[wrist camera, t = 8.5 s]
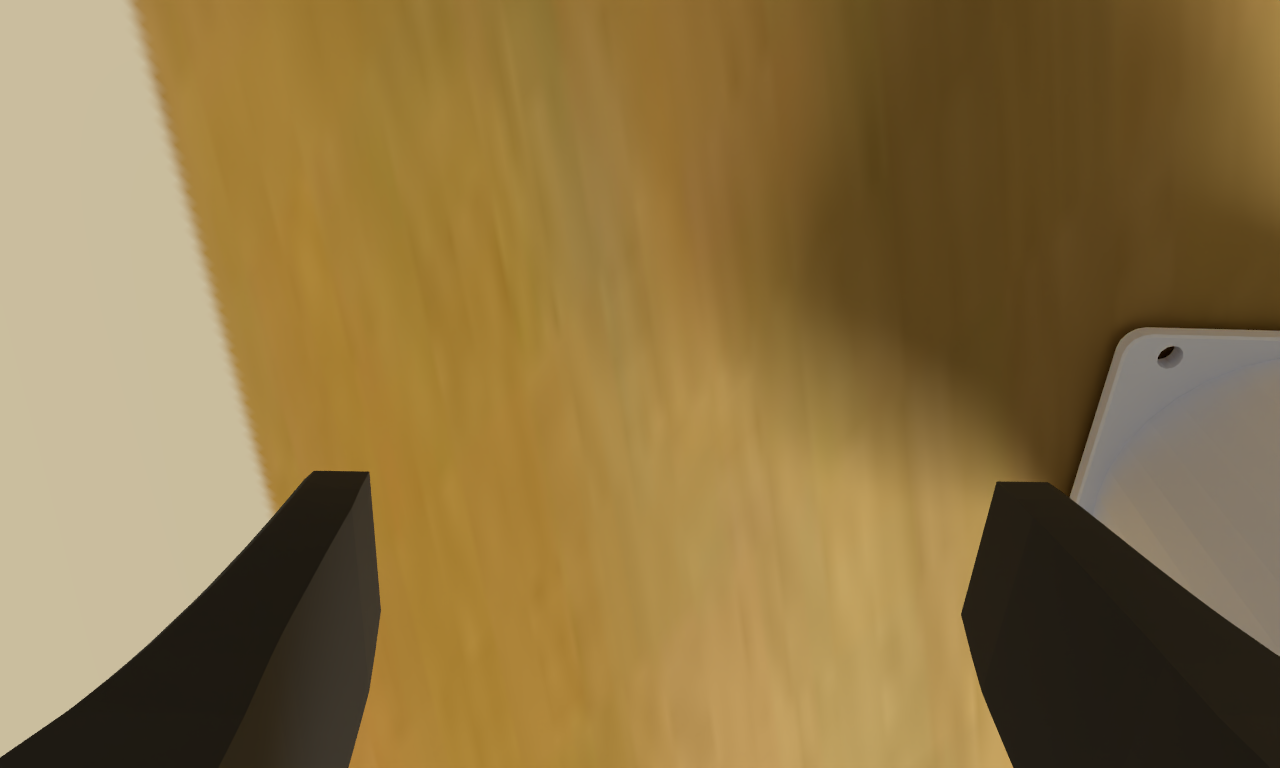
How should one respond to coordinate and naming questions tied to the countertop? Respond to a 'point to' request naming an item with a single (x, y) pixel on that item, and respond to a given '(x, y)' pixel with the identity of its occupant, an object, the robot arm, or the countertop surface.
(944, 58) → the countertop surface
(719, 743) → the countertop surface
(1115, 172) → the countertop surface
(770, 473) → the countertop surface
